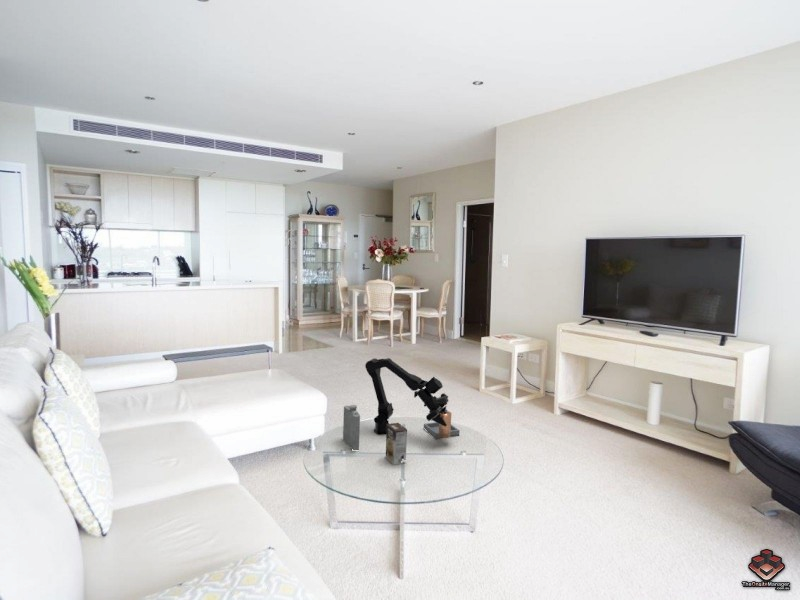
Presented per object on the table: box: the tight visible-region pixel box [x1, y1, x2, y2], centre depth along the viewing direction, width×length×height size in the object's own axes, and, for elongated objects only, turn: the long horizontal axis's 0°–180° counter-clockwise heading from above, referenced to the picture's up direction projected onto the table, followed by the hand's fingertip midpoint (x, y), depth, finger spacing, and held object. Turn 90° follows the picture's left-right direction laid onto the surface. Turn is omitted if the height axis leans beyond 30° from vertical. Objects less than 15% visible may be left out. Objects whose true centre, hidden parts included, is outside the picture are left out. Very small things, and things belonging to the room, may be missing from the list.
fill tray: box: [423, 421, 460, 440], centre depth 249 cm, size 14×14×3 cm
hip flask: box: [342, 404, 361, 451], centre depth 229 cm, size 16×4×20 cm, turn 27°
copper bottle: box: [439, 409, 452, 439], centre depth 234 cm, size 6×6×14 cm
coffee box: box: [385, 422, 408, 466], centre depth 215 cm, size 9×6×16 cm
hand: (447, 423), depth 233 cm, fingers closed on copper bottle, 6 cm apart
